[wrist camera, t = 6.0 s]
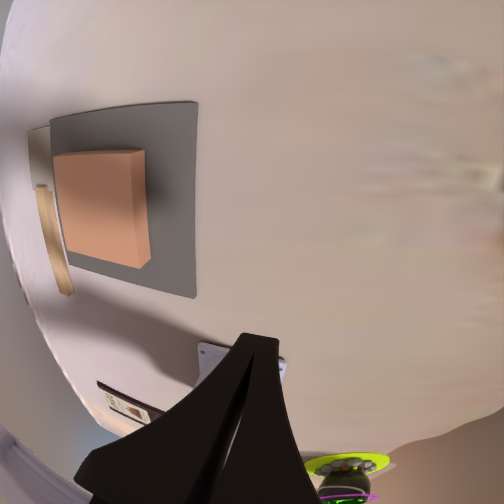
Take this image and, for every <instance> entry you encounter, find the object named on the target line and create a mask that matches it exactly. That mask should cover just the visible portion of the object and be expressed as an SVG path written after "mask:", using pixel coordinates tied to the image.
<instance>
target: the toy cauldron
mask: <svg viewBox="0 0 504 504" xmlns="http://www.w3.org/2000/svg"><path fill="white" fill-rule="evenodd" d="M389 460H390V458H389V457H388V456H387V455H384V454H379V453H372V452H353V453H341V454H333V455H327V456H322V457H318V458H315V459H312V460H310V461H307V462H306V463H305V464H304V466H305V468H306V470H307V473H309V474H312V475H315V476H320V477H325V479H324V480H323V481H322V483H321V485H320V486H319V489H318V490H317V491H316V492H317V493H318V496H319V497H320V499H321V501H322V503H323V504H363V503H365V502H368V501H367V499H368V496H369V495H370V481H369V479H368V476H366V475H365V474H369V473H372V472H375V471H378V470H380V469H382V468H383V467H385V466H386V465H387V464H388V463H389ZM370 497H372V496H371V495H370ZM375 497H376V496H373V497H372V498H373V499H375ZM372 498H371V499H370V501H372V500H373V499H372ZM377 498H378V496H377Z"/></svg>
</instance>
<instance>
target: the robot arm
mask: <svg viewBox="0 0 504 504" xmlns="http://www.w3.org/2000/svg"><path fill="white" fill-rule="evenodd" d="M279 342H280V341H279V340H278V339H277V338H271V337H265V336H260V335H255V334H249V333H242V334H240V336H239V337H238V339H237V341H236V342H235V343H234V345H233V346H232V348H231V349H228V348H224V347H220V346H216V345H212V344H208V343H204V342H200V343H199V344H198V346H197V349H198V361H199V371H200V376H199V378H198V380H197V382H196V385H195V387H194V389H193V391H191V392H190V393H189V394H188V395H187V396H186V397H185V398H183V399H182V400H181V401H180V402H178V403H177V404H176V405H175V406H173V407H172V408H171V409H169V410H168V411H167V412H165V413H164V414H162V415H161V416H159V417H158V418H157V419H155V420H153V421H152V422H150V423H149V424H147V425H145V426H144V427H142V428H140V429H138V430H136V431H134V432H133V433H131V434H129V435H127V436H125V437H123V438H121V439H119V440H117V441H115V442H112V443H110V444H107V445H105V446H102V447H100V448H97V449H95V450H92V451H91V452H90V454H89V455H88V456H87V457H86V458H85V460H84V461H83V462H82V464H81V466H80V468H79V470H78V471H77V473H76V475H75V476H74V478H73V479H74V481H75V482H76V483H77V484H78V485H80V486H81V487H83V488H84V489H86V490H88V491H89V492H91V493H92V494H94V495H93V496H91V495H89V494H88V493H86V492H85V491H83V490H82V489H80V488H78V487H77V486H76V485H74V484H73V483H71V482H70V481H68V480H67V479H65V478H64V477H63V476H61V475H60V474H59V473H57V472H56V471H55V470H53V469H52V468H51V467H49V466H48V465H47V464H46V463H44V462H43V461H42V460H41V459H39V458H38V457H37V456H36V455H35V454H34V452H33V451H32V450H31V449H29V448H28V447H27V446H26V445H25V444H24V443H23V442H22V441H21V440H20V439H18V438H17V437H16V436H15V435H14V434H13V433H11V432H10V431H9V430H7V428H6V427H5V426H4V425H2V423H1V422H0V494H1V496H2V497H3V498H4V500H5V501H6V502H7V504H323V503H322V501H321V499H320V497H319V496H318V494H317V492H316V490H315V488H314V486H313V484H312V482H311V479H310V477H309V475H308V473H307V470H306V468H305V466H304V463H303V461H302V458H301V456H300V453H299V451H298V448H297V445H296V442H295V439H294V436H293V433H292V430H291V426H290V423H289V419H288V415H287V411H286V407H285V402H284V397H283V392H282V386H281V384H282V380H283V377H284V373H285V370H286V366H287V362H286V361H284V360H282V359H279Z"/></svg>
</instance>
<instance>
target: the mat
mask: <svg viewBox="0 0 504 504" xmlns="http://www.w3.org/2000/svg"><path fill="white" fill-rule="evenodd" d="M197 118H198V103H168V104H152V105H140V106H130V107H121V108H113V109H106V110H99V111H93V112H87V113H82V114H77V115H71V116H67V117H62V118H58V119H53V120H50V145H51V160H52V172H53V181H54V189H55V197H56V204H57V210H58V216H59V221H60V226H61V231H62V236H63V241H64V245H65V250H66V254H67V258H68V262H69V265H72V266H75V267H79V268H82V269H85V270H88V271H91V272H95V273H98V274H101V275H105V276H108V277H112V278H115V279H119V280H122V281H126V282H129V283H133V284H137V285H140V286H144V287H148V288H152V289H155V290H159V291H163V292H167V293H171V294H175V295H179V296H183V297H188V298H192V299H195V297H196V296H197V292H196V262H195V166H196V138H197ZM102 150H145V186H146V205H147V220H148V233H149V243H150V253H151V259H150V260H149V261H148V262H147V263H146V264H145V265H144V266H143V267H142V268H140V269H138V268H134V267H130V266H126V265H122V264H118V263H114V262H110V261H106V260H102V259H99V258H95V257H91V256H87V255H83V254H80V253H76V252H72V251H69V250H67V247H66V242H65V238H64V233H63V228H62V223H61V217H60V212H59V205H58V199H57V191H56V183H55V174H54V163H53V157H54V156H57V155H60V154H64V153H67V152H82V151H102Z"/></svg>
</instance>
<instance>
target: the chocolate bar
mask: <svg viewBox="0 0 504 504" xmlns="http://www.w3.org/2000/svg"><path fill="white" fill-rule="evenodd" d="M97 385H98V387H99V389H100V391H101V393H102V394H103V396H104V398H105V400H106V402H107V403H108V405H109V407H110V409H112V410H114V411H115V412H117V413H119V414H121V415H123V416H125V417H128V418H130V419H132V420H134V421H136V422H138V423H140V424H143V425H147V424H149V423H150V422H152V421H153V420H155V419H157V418H158V417H159V416H161V415H162V414H164V413H165V412H164V411H162V410H159V409H157V408H154V407H152V406H149V405H147V404H145V403H142V402H140V401H138V400H135V399H133V398H131V397H129V396H127V395H125V394H123V393H120V392H118V391H116V390H114V389H112V388H110V387H108V386H106V385H105V384H103V383H101V382H99V381H98V383H97Z"/></svg>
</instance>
